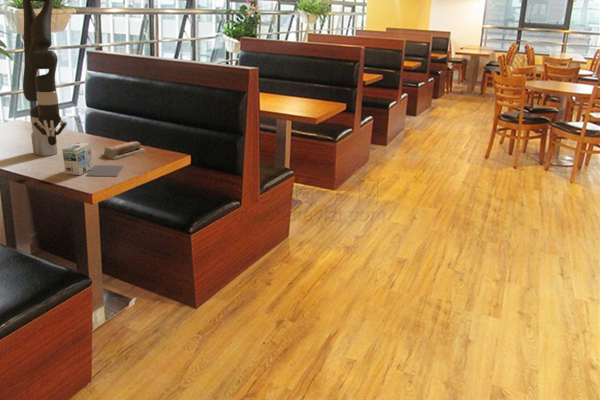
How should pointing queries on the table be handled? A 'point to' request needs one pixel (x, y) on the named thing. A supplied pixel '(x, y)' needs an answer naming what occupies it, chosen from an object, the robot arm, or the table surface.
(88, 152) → the light bulb box
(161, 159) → the table surface
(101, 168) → the mat
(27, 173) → the table surface
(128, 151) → the packaged product
